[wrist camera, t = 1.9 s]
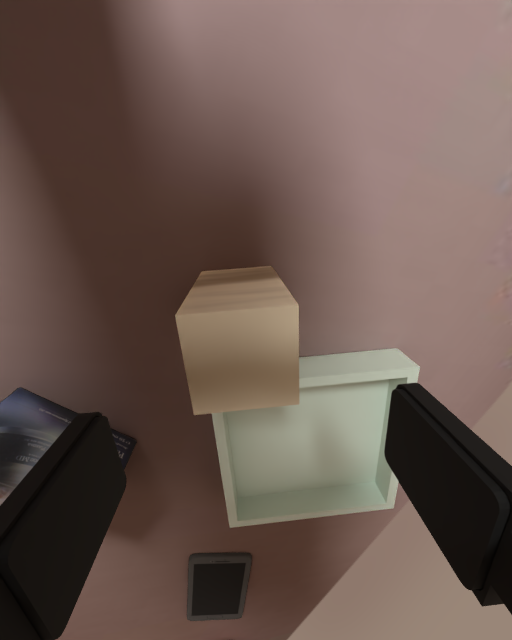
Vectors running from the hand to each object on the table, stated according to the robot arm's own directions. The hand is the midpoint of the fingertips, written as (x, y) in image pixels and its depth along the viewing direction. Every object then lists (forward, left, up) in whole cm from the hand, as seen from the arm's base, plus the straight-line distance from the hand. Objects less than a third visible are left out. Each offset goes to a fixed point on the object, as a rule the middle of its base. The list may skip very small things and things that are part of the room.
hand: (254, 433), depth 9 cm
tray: (+12, +5, -12) cm, 18 cm away
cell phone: (+36, -6, -13) cm, 39 cm away
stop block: (-1, 0, -12) cm, 12 cm away
